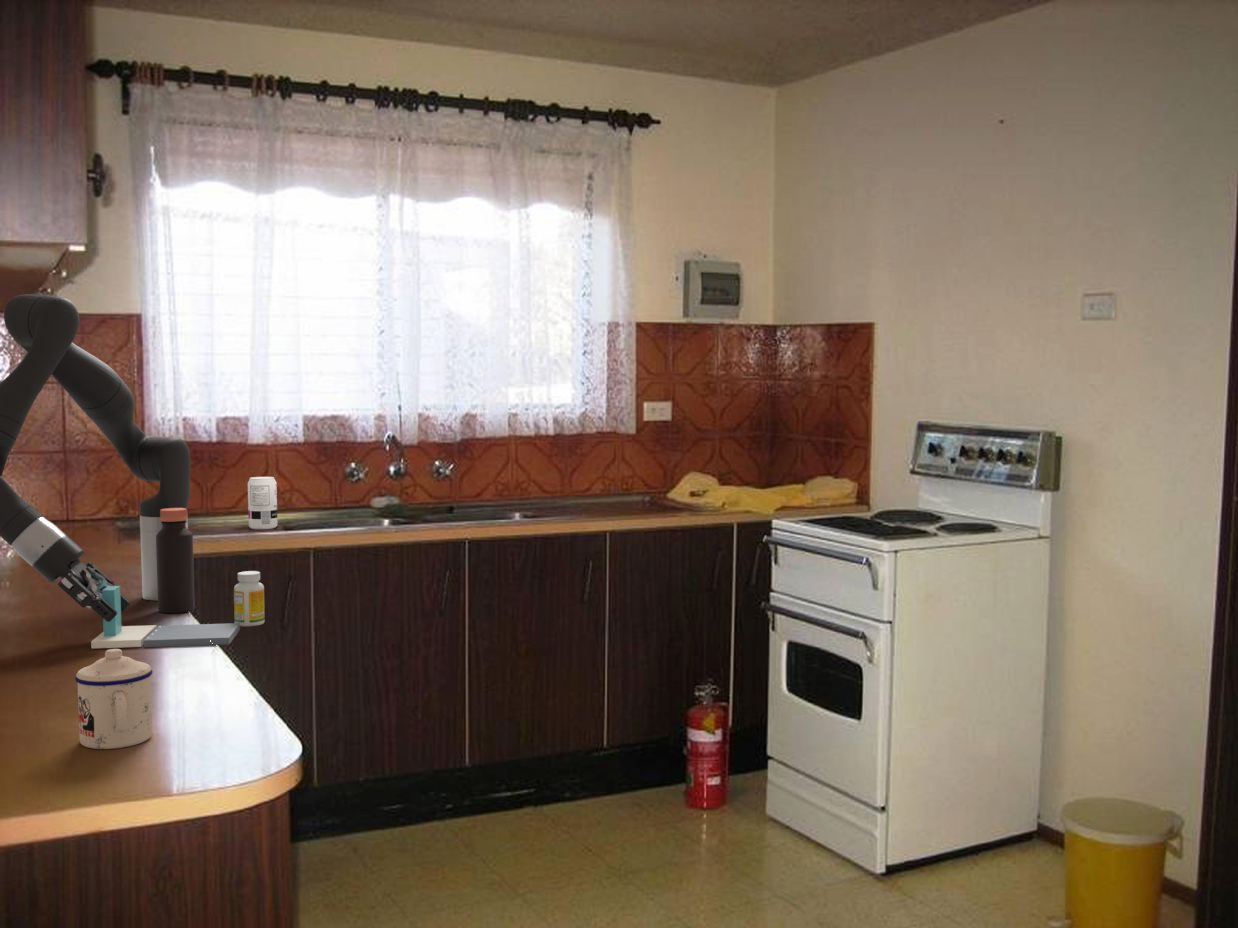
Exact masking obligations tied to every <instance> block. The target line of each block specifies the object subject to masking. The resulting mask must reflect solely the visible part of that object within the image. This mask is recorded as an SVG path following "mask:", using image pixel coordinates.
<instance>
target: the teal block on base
mask: <svg viewBox="0 0 1238 928" xmlns="http://www.w3.org/2000/svg"><path fill="white" fill-rule="evenodd" d="M120 594H121V585H114V586H108V587H106V588H105V589H103V590H102V596H101V599H104V600H105V601H106V602H107V603H108V604H109V605H110V606H112V607H113V608H114V609H115V610H116V611H117V615H116V616H115V617H114V618H113V619H112V620H111V621H110V622H107V621H106V620H105V619H103V618H102V625H103V626H102V629H103V632H101V633H100V634H99V635H98V636H96V637H95V638H94V639H92V640H91V642H90V645H91V649H120V648H141V647H143V646H144V640H145V639H146V638H147V637H148V636H149V635H150V634H151V633H152V632H153V631H154V630H155V629H156V628H157V627H158V626H157V625H156V624H153V625H152V624H151V625H148V624H147V625H122V612H121V597H120Z"/></svg>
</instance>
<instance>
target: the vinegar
mask: <svg viewBox="0 0 1238 928" xmlns="http://www.w3.org/2000/svg"><path fill="white" fill-rule="evenodd" d="M187 516H188V508H187V509H186V508H166V509H161V510H160V520H161V521H162V522H161V523H162V529H161V530H160V531H159V532H158V534H157V535H156V556H157V588H158V600H157V609H158V612H159V613H161V614H167V615H168V614H170V615H171V614H172V615H173V614H176V615H177V614H183V613H189V612H192V611H194V610H195V608H196V606H195V605H196V603H195V573H194V572H195V569H194V568H195V567H194V565H195V564H194V537H193V536H194V534H193V533H192V532H191V530H190V529H189V528H188V529H187V528H186V522H187V521H186V520H187Z"/></svg>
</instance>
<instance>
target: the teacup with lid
mask: <svg viewBox="0 0 1238 928" xmlns="http://www.w3.org/2000/svg"><path fill="white" fill-rule="evenodd" d="M152 675H153V669H152V667H151V665H149V664H148V663H147V662H142V661H139V660H135V659H134V658H131V657H129V656H124V655H123V651H122V649H120V648H108V649H107V650H105V652H104V657H102V658H100V659H97V660H96V661H95V662H93V663H92V664H90V665H88V666H85V667H82V668H81V669H79V670H78V671H77V673H76V675H75V677H74V679H75V682H77V700H78V702H77V703H78V704H77V705H78V709H77V710H78V729H79V734H78V735H79V743H80V745H82V746H83V747H86V748H88V749H95V750H115V749H124V748H128V747H132V746H136V745H140V744H141V743H144V742H146V741H148V740H149V739H151V737H152V736H153V713H152V712H153V711H152V710H153V709H152V708H153V707H152V706H153V705H152V678H151V677H152Z"/></svg>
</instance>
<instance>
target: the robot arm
mask: <svg viewBox="0 0 1238 928" xmlns="http://www.w3.org/2000/svg"><path fill="white" fill-rule="evenodd" d="M3 321H4V324H5V328H6V330H7V332H8V334H9V335H10V336H11V338H12V339H13V340H14V341H15V342H16V343H17V344H18V345H19V346H20V347H21V348H23V349H24V350H25V352H26V354H25V356H24V357H23V359H22V360H21V362H19V364H18V365H17V366H16V368H15V369H14V370H12V371H11V372H10V374H9V375H8V376H6V378H4V379H3V380H2V381H1V382H0V538H1V539H3V541H5V542H6V543H7V544H8V545H9V546H11V548H12V549H14V550H15V552H16V553H17V554H18V555H19V556H20V558H21V559H23V560H24V561H25V562H26V563H27V564H29V565H30V566H31V567H32V568H33V569H34V570H35V571H36V572H37V573H39V574H40V575H42V577H43V578H45V580H47V581H48V582H49V583H51V584H52V583H55V582H57V581H58V580H59V579H61V580H60V581H59V582H58V583H57V585H58V587H59V588H60V589H61V590H62V591H64V592H65V593H66V594H67V595H68V596H69V597H70V598H71V599H73V600H74V601H75V602H76V604H78V605H79V606H80V607H81V608H83V609H85V608H88V609H91V610H93V611H94V612H95V613H96V614H98V615H99V616H100V617H101V618H102V620H103V619H105V620H106V621H107V622H110V621H111V620H112V619H113V618H114V617H115V616H116V615H117V611H116V610H115V609H114V608H113V607H112V606H110V605H109V604H108V603H107V602H106V601H105V600H104V599H102V590H103V589H105V588H106V587H108V586H116V583H115V581H114V580H112V578H110V577H109V576H108V575H106V574H105V572H103V571H102V570H101V569H99V567H97V566H96V565H95V564H94V563H93V562H92V561H88V562H87V563H86V564H84V563H83V562H81V561H80V560H81V558H83V556H84V554H85V551H84V549H83V548H82V547H81V546H79V545H78V544H77V543H76V542H75V541H74V540H73V539H72V538H70V537H69V536H68V535H67V534H66V533H65V532H64V531H62V530H61V529H60V528H59V527H58V526H57V525H55V524H54V523H53V522H52V521H50V520H48V519H47V518H45V517H44V516H43V515H42V514H41V513H40V512H39V511H38V510H36V508H34V507H33V506H32V505H31V504H30V503H28V502H27V501H26V500H24V499H23V498H22V497H21V496H20V495H19V494H17V493H16V491H15V490H14V489H13V488H12V487H11V485H9V483H8V482H7V481H5V479H4V478H3V477H2V476H3V472H4V469H5V466H6V464H7V461H8V457H9V455H10V453H11V451H12V449H13V448H14V446H15V443H16V442H17V439H18V436H19V434H20V432H21V430H22V427H23V425H24V423H25V421H26V418H27V416H28V414H29V413H30V410H31V408H32V406H33V404H34V403H35V401H36V399H37V398H38V396H39V394H40V393H41V391H42V390H43V388H44V386H45V385H46V384H47V382H48V381H49V379H50V377H51V376H52V377H53V379H55V380H56V381H57V383H58V384H59V385H60V386H61V387H62V388H63V390H65V391H66V392H67V394H68V395H69V396H70V397H71V399H72V400H73V401H74V402H75V404H77V405H78V406H79V408H80V409H81V410H82V411H83V413H84V414H85V415H86V416H87V417H88V419H90V420H91V421H92V422H93V423H94V424H95V425H96V426H97V428H99V430H100V431H101V432H102V434H103V435H104V436H105V438H107V440H109V442H110V443H111V444H112V446H113V447H114V448H115V451H116V452H117V454H119V456H120V458H121V459H122V461H123V462H124V464H125V465H126V466H127V468H128V469H129V471H130V472H131V474H133V475H134V476H135V477H136V478H138V479H140V480H141V481H144V482H145V481H146V482H159V487H158V492H157V493H156V494H154V495H153V496H151V497H149V498H146V499H144V500H142V501H140V503H139V529H140V532H139V533H140V556H141V557H140V561H141V564H140V565H141V591H142V599H143V600H145V601H146V600H147V601H158V588H157V556H156V535H157V534H158V532H159V531H160V530H161V529H162V523H161V522H162V521H161V520H160V510H161V509H166V508H186V509H187V510H188V505H189V502H190V497H191V468H192V467H191V466H192V465H191V464H192V461H191V452H190V449H189V446H188V444H187V442H186V441H185V440H184V439H183V438H181V437H176V436H175V437H174V436H150V435H148V434H146V433H145V432H144V431H143V430H142V429H141V428H140V427H139V426H138V424H137V423H136V422H135V418H134V417H135V398H134V395H133V393H132V391H131V389H130V388H129V387H128V385H127V384H126V383H125V381H124V380H123V379H122V378H121V377H120V375H119V374H118V373H117V372H116V371H115V370H114V369H112V367H111V366H109V365H108V363H107V364H106V363H105V362H104V361H102V360H100V359H99V358H97V357H96V356H95V355H93V354H91V353H89V352H88V351H86V350H85V349H83V348H81V347H80V346H78V345H76V344H75V343H74V340H75V338H76V336H77V334H78V332H79V327H80V315H79V310H78V308H77V307H76V305H75V304H74V303H73V302H72V301H71V300H70V299H68V298H65V297H61V296H56V295H55V296H54V295H47V294H46V295H45V294H44V295H43V294H33V293H31V294H30V293H27V294H25V293H24V294H20V295H16V296H13V297H12V298H10V300H9V301H7V302H6V304H5V307H4V310H3ZM186 521H187V522H186V528H187V529H188V530H189V523H188V522H189V520H188V515H187V520H186ZM120 597H121V613H122V612H124V611H125V610H126V609H127V608H128V607H129V606H130V605H131V602H130V601H129V600H128V599H127V598H126V597H124V596H123V595H122V594H121V593H120Z"/></svg>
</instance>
